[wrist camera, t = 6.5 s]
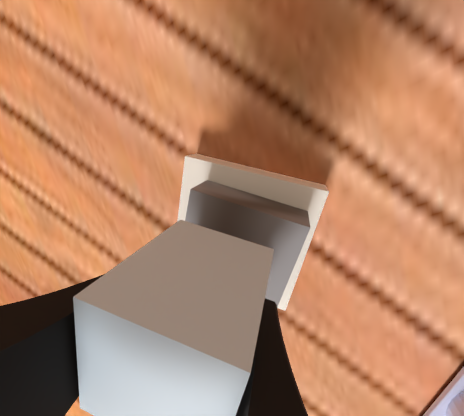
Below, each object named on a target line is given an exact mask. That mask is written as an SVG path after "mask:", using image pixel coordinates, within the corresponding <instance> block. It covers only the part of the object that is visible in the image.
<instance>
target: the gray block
mask: <svg viewBox="0 0 464 416" xmlns="http://www.w3.org/2000/svg"><path fill="white" fill-rule="evenodd" d="M273 253H274V249H271V248H268V247H265V246H262V245H259V244H256V243H253V242H249V241H246V240H243V239H240V238H237V237H234V236H231V235H227V234H224V233H221V232H218V231H215V230H212V229H209V228H205V227H202V226H199V225H196V224H193V223H190V222H187V221H183V220H179V221H178V222H176V223H175V224H174V225H172V226H171V227H169V228H168V229H167V230H165V231H164V232H162V233H161V234H160V235H158V236H157V237H156V238H154V239H153V240H151V241H150V242H149V243H147V244H146V245H144V246H143V247H142V248H140V249H139V250H138V251H136V252H135V253H133V254H132V255H131V256H129V257H128V258H126V259H125V260H124V261H122V262H121V263H120V264H118V265H117V266H115V267H114V268H113V269H111V270H110V271H108V272H107V273H106V274H104V275H103V276H102V277H100V278H99V279H97V280H96V281H95V282H93V283H92V284H90V285H89V286H88V287H86V288H85V289H84V290H82V291H81V292H79V293H78V294H77V295H75V296H74V297H73V303H74V320H75V336H76V352H77V368H78V384H79V400H80V408H81V409H83V410H85V411H86V412H88V413H90V414H92V415H94V416H236V413H237V410H238V407H239V404H240V402H241V399H242V396H243V393H244V390H245V388H246V385H247V382H248V379H249V376H250V373H251V368H252V363H253V358H254V353H255V347H256V342H257V337H258V332H259V326H260V321H261V316H262V310H263V305H264V300H265V295H266V289H267V284H268V279H269V274H270V268H271V263H272V258H273Z"/></svg>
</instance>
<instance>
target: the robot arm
mask: <svg viewBox="0 0 464 416" xmlns="http://www.w3.org/2000/svg"><path fill="white" fill-rule="evenodd" d="M102 276H103V275H101V276H99V277H96V278H93V279H90V280H87V281H85V282H82V283H79V284H76V285H73V286H70V287H68V288H65V289H62V290H58V291H55V292H52V293H49V294H45V295H42V296H38V297H35V298H31V299H27V300H24V301H20V302H16V303H11V304H7V305H3V306H0V416H65V414H66V413H67V411H68V410H69V409H70V407H71V406H72V404H73V403H74V402H75V400H76V399H77V398H78V396H79V384H78V368H77V352H76V336H75V320H74V303H73V297H74V296H75V295H77V294H78V293H79V292H81V291H82V290H84V289H85V288H86V287H88V286H89V285H90V284H92V283H93V282H95V281H96V280H97V279H99V278H100V277H102ZM236 416H308V414H307V412H306V409H305V407H304V404H303V401H302V398H301V396H300V393H299V390H298V387H297V384H296V381H295V378H294V375H293V372H292V369H291V366H290V362H289V359H288V355H287V352H286V348H285V344H284V341H283V337H282V333H281V328H280V323H279V318H278V312H277V305H276V303H275V302H274V301H271V300H269V299H266V298H265V300H264V305H263V310H262V316H261V321H260V326H259V332H258V337H257V342H256V347H255V353H254V358H253V363H252V368H251V373H250V376H249V379H248V382H247V385H246V388H245V390H244V393H243V396H242V399H241V402H240V404H239V407H238V410H237V413H236ZM423 416H464V367H463V368H462V369H461V370H460V371H459V373H458V374H457V375H456V376H455V377H454V379H453V380H452V381H451V382H450V383H449V385H448V386H447V387H446V388H445V389H444V391H443V392H442V393H441V394H440V395H439V397H438V398H437V399H436V400H435V401H434V403H433V404H432V405H431V406H430V407H429V409H428V410H427V411H426V412H425V413H424V415H423Z"/></svg>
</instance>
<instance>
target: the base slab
mask: <svg viewBox="0 0 464 416" xmlns="http://www.w3.org/2000/svg"><path fill="white" fill-rule="evenodd" d="M206 180H209V181H213V182H216V183H219V184H222V185H225V186H229V187H232V188H235V189H238V190H241V191H245V192H248V193H251V194H254V195H258V196H261V197H264V198H267V199H270V200H274V201H277V202H280V203H283V204H287V205H290V206H293V207H296V208H299V209H303V210H306V211H308V215H309V222H310V230H309V232H308V235H307V237H306V240H305V242H304V244H303V247H302V249H301V252H300V254H299V256H298V259H297V261H296V264H295V266H294V268H293V271H292V273H291V276H290V278H289V280H288V283H287V285H286V288H285V290H284V292H283V295H282V297H281V300H280V302H279V304H278V307H277V308H279V309H282V310H286V308H287V305H288V302H289V299H290V297H291V294H292V291H293V288H294V286H295V283H296V280H297V278H298V275H299V272H300V269H301V267H302V264H303V261H304V259H305V256H306V253H307V250H308V248H309V245H310V242H311V239H312V237H313V234H314V231H315V229H316V226H317V223H318V220H319V218H320V215H321V212H322V210H323V207H324V204H325V201H326V199H327V196H328V193H329V191H328V189H327V187H326V186H325V185H324V184H320V183H315V182H311V181H307V180H303V179H299V178H295V177H291V176H287V175H283V174H279V173H274V172H270V171H266V170H262V169H258V168H254V167H250V166H246V165H242V164H238V163H233V162H229V161H225V160H221V159H217V158H213V157H209V156H205V155H201V154H193V155H188V156H185V162H184V170H183V179H182V187H181V196H180V204H179V213H178V221H179V220H183V221H185V218H186V212H187V206H188V201H189V195H190V189H191V188H193V187H195V186H197V185H199V184H201V183H202V182H204V181H206ZM178 221H177V222H178Z"/></svg>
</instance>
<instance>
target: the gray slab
mask: <svg viewBox="0 0 464 416" xmlns="http://www.w3.org/2000/svg"><path fill="white" fill-rule="evenodd" d="M185 221H187V222H190V223H193V224H196V225H199V226H202V227H205V228H209V229H212V230H215V231H218V232H221V233H224V234H227V235H231V236H234V237H237V238H240V239H243V240H246V241H249V242H253V243H256V244H259V245H262V246H265V247H268V248H271V249H274V253H273V258H272V263H271V268H270V274H269V279H268V284H267V289H266V295H265V298H266V299H269V300H271V301H274V302H275V303H276V305H277V307H278V304H279V302H280V300H281V297H282V295H283V292H284V290H285V288H286V285H287V283H288V280H289V278H290V276H291V273H292V271H293V268H294V266H295V264H296V261H297V259H298V256H299V254H300V252H301V249H302V247H303V244H304V242H305V240H306V237H307V235H308V232H309V230H310V222H309V215H308V211H306V210H303V209H299V208H296V207H293V206H290V205H287V204H283V203H280V202H277V201H274V200H270V199H267V198H264V197H261V196H258V195H254V194H251V193H248V192H245V191H241V190H238V189H235V188H232V187H229V186H225V185H222V184H219V183H216V182H213V181H209V180H206V181H204V182H202V183H201V184H199V185H197V186H195V187H193V188H191V189H190V195H189V201H188V206H187V212H186V218H185Z"/></svg>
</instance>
